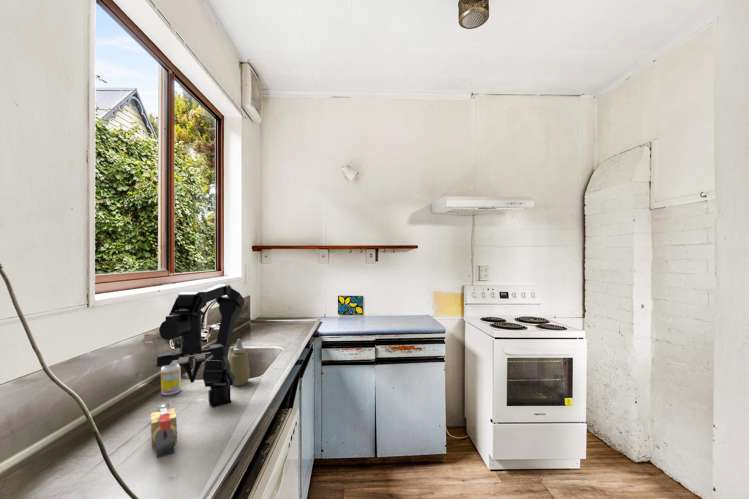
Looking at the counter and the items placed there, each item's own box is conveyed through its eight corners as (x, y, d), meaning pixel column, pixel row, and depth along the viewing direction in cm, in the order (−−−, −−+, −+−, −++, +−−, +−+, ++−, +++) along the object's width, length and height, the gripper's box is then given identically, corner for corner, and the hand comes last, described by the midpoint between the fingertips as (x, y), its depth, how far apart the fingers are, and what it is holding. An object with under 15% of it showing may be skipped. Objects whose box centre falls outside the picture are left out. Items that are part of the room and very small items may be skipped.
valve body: (173, 421, 110) (172, 395, 110) (179, 453, 92) (178, 422, 92) (150, 426, 107) (150, 400, 107) (152, 461, 89) (151, 429, 89)
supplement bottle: (166, 389, 137) (166, 356, 137) (184, 388, 138) (183, 356, 138) (157, 396, 131) (156, 362, 131) (175, 395, 131) (175, 361, 131)
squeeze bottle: (230, 388, 136) (229, 342, 136) (228, 382, 143) (227, 338, 144) (251, 384, 140) (250, 340, 140) (249, 378, 147) (248, 336, 147)
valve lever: (172, 428, 90) (172, 419, 90) (158, 431, 88) (158, 423, 88) (169, 408, 102) (168, 400, 102) (157, 410, 100) (156, 403, 100)
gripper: (218, 324, 120) (219, 369, 120) (155, 332, 110) (156, 381, 110) (224, 329, 111) (226, 378, 111) (156, 338, 101) (157, 392, 100)
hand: (192, 382), depth 108 cm, fingers closed
